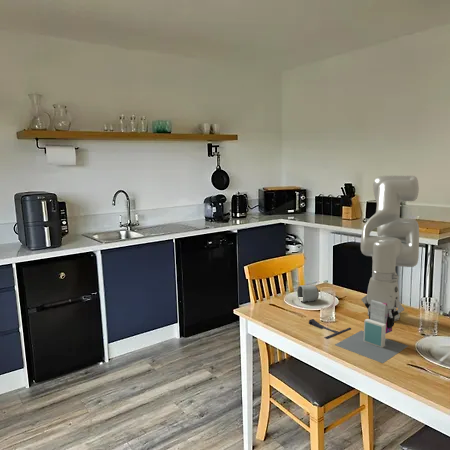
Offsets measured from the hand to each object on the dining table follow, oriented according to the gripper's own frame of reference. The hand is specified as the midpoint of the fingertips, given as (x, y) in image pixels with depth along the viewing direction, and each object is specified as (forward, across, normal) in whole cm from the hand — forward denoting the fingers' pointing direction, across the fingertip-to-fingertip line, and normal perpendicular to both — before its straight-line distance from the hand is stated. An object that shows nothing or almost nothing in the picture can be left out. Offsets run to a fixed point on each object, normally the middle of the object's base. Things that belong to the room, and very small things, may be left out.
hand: (381, 324), depth 144 cm
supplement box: (+3, 0, 0) cm, 3 cm away
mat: (+7, 0, +6) cm, 9 cm away
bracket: (+7, +20, +5) cm, 22 cm away
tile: (+6, 0, +4) cm, 7 cm away
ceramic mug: (+7, +46, -17) cm, 49 cm away
